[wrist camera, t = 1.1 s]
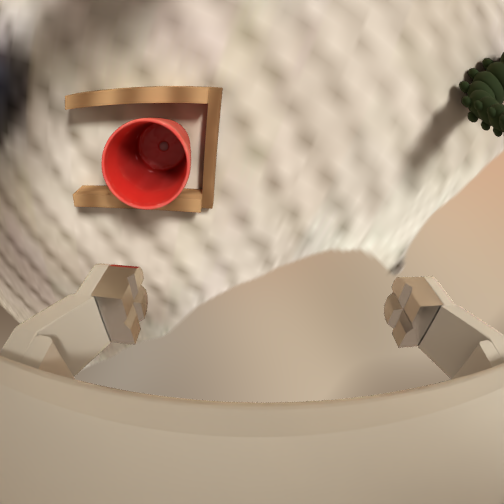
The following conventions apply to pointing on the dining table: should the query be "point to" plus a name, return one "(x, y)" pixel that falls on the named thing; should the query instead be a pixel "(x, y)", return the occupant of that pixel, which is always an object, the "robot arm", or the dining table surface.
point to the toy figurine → (486, 95)
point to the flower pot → (147, 162)
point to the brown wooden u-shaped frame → (158, 94)
